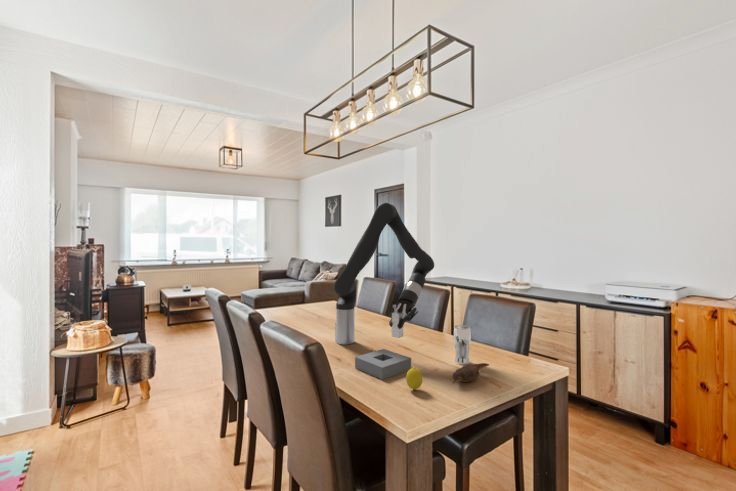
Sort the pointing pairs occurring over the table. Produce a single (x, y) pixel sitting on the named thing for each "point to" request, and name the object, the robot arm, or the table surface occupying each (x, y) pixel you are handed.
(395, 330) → the steel bar
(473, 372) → the bird sculpture
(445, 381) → the table surface
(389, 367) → the well block
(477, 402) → the table surface
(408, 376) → the lemon
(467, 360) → the beer glass
